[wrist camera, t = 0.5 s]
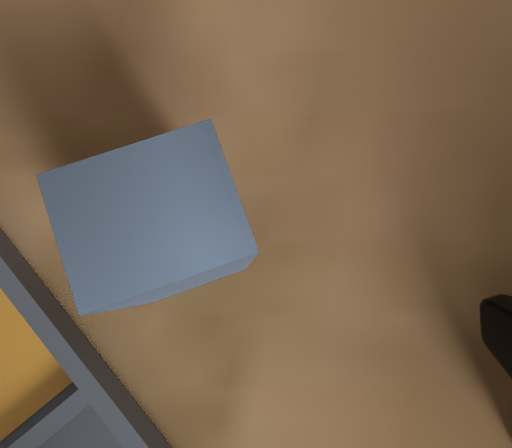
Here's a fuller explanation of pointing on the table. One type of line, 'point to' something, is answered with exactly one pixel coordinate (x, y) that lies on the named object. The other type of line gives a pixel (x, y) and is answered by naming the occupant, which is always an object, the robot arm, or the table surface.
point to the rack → (57, 374)
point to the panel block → (147, 220)
